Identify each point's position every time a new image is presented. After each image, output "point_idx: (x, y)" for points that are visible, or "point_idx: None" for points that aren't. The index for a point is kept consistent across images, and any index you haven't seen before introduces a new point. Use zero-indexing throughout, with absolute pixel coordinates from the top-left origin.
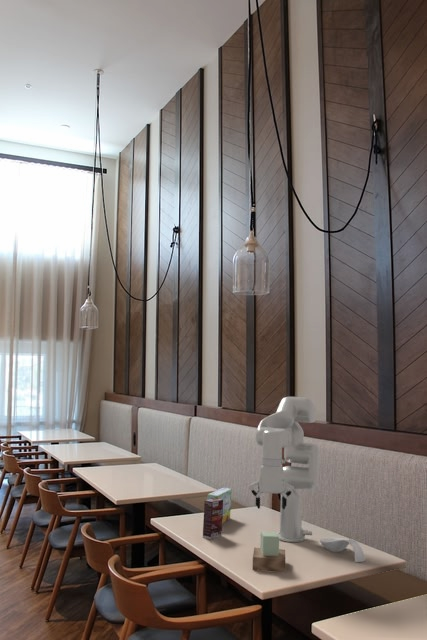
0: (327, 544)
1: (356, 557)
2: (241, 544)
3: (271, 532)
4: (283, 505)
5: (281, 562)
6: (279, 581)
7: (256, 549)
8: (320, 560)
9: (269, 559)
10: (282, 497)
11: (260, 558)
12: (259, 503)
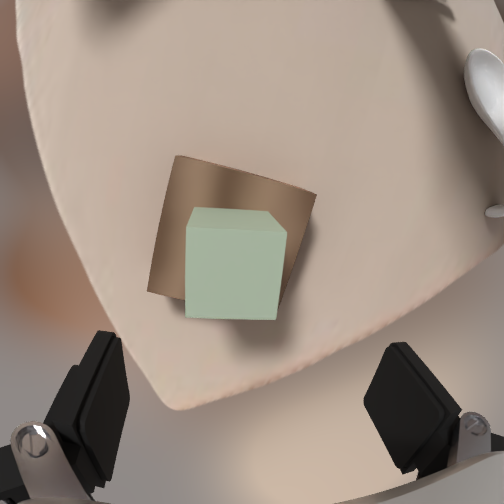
0: (477, 106)
1: (495, 217)
2: None
3: (254, 238)
4: (377, 422)
5: None
6: (225, 364)
7: (179, 187)
8: (422, 182)
9: None
10: (434, 428)
11: (177, 297)
12: (115, 439)
